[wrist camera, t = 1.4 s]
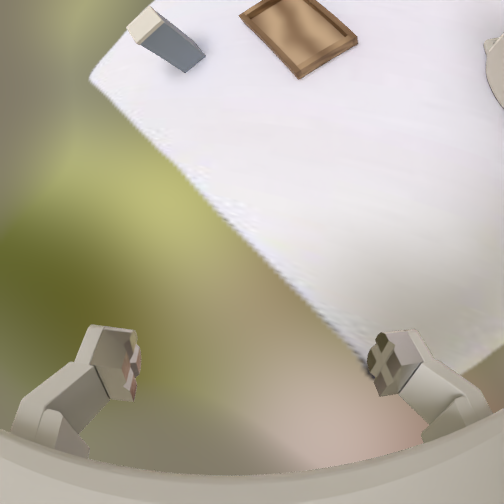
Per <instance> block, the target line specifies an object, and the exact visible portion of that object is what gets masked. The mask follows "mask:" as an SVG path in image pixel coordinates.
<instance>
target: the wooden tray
mask: <svg viewBox="0 0 504 504" xmlns="http://www.w3.org/2000/svg"><path fill="white" fill-rule="evenodd" d="M239 17H240V18H241V20H242V21H243V22H244V23H245V24H246V25H247V26H248V27H249V28H250V29H251V30H252V31H253V32H254V33H255V34H256V35H257V36H258V37H259V38H260V39H261V40H262V41H263V42H264V43H265V44H266V45H267V46H268V47H269V48H270V49H271V50H272V51H273V52H274V53H275V54H276V55H277V56H278V57H279V59H280V60H281V61H282V62H283V63H284V64H285V65H286V66H287V67H288V68H289V69H290V71H291V72H292V73H293V74H294V75H295V76H296V77H297V79H298V80H299V79H301V78H302V77H304V76H305V75H307V74H308V73H310V72H312V71H313V70H315V69H316V68H318V67H319V66H321V65H323V64H324V63H326V62H328V61H329V60H331V59H333V58H334V57H336V56H338V55H339V54H341V53H343V52H344V51H346V50H348V49H350V48H351V47H353V46H355V45H357V44H358V40H357V36H356V35H355V34H354V33H353V32H352V31H351V30H350V29H349V28H348V27H347V26H345V25H344V24H343V23H342V22H341V21H340V20H339V19H338V18H337V17H335V16H334V15H333V14H332V13H331V12H330V11H328V10H327V9H326V8H325V7H324V6H322V5H321V4H320V3H319V2H317V1H316V0H262V1H260V2H259V3H257V4H256V5H254V6H253V7H251V8H249V9H248V10H246V11H245V12H243V13H242V14H240V15H239Z"/></svg>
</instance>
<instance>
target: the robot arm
mask: <svg viewBox="0 0 504 504" xmlns="http://www.w3.org/2000/svg"><path fill="white" fill-rule="evenodd" d="M493 44H494V45H493ZM484 49H485V52H486V55H487V60H486V75H487V79H488V82H489V85H490V87H491V89H492V92H493V93H494V95H495V97H496V98H497V100H498V101H499V103H500V104H501V105H502V107H503V108H504V33H503V34H502V35H501V36H500V38H494V39H487V40H486V41H485V42H484ZM375 340H376V343H377V344H376V345H374V346H373V347H372V348H371V349H370V351H369V353H368V358H367V364H368V369H369V371H370V373H371V374H372V375H374V376H375V381H374V384H375V386H376V389H377V391H378V394H379V396H387V395H393V394H398V395H399V396H400V397H401V398H402V399H403V400H404V401H405V402H406V403H407V404H409V406H411V407H412V408H413V409H414V410H415V411H416V412H417V413H418V414H419V415H420V416H421V417H422V418H423V419H424V420H425V421H426V422H427V423H428V424H429V426H428V427H427V428H426V429H425V430H424V431H423V432H422V434H421V437H422V439H423V442H424V443H423V444H420V445H417V446H414V447H411V448H408V449H405V450H401V451H398V452H395V453H391V454H387V455H384V456H380V457H376V458H372V459H368V460H363V461H359V462H354V463H350V464H344V465H339V466H334V467H328V468H322V469H315V470H308V471H299V472H290V473H280V474H265V475H244V476H243V475H239V476H217V475H192V474H178V473H167V472H159V471H150V470H143V469H137V468H130V467H125V466H119V465H114V464H109V463H104V462H99V461H95V460H91V459H88V456H89V450H90V448H89V447H88V445H87V444H86V443H85V442H84V441H83V439H82V438H81V437H80V436H79V435H78V434H79V433H80V432H81V431H82V430H83V429H84V428H85V427H86V425H88V424H89V422H90V421H91V420H92V419H93V418H94V417H95V416H96V415H97V414H98V413H99V412H100V410H101V409H102V408H103V407H104V406H105V405H106V404H107V403H108V402H109V401H110V399H115V400H122V401H131V402H134V399H135V394H136V389H137V384H136V380H135V378H136V377H137V376H138V375H139V373H140V368H141V352H140V347H139V346H138V345H136V341H137V335H136V331H135V330H129V329H122V328H114V327H107V326H99V325H91V326H90V327H89V328H88V330H87V332H86V335H85V337H84V339H83V342H82V344H81V347H80V349H79V351H78V354H77V357H76V360H75V362H69V363H68V364H67V365H65V366H64V367H63V368H62V369H60V370H59V371H58V372H56V373H55V374H54V375H52V376H51V377H50V378H48V380H46V381H45V382H43V383H42V384H41V385H39V386H38V387H37V388H36V389H34V390H33V391H32V392H30V393H29V394H28V395H27V396H25V397H24V398H23V399H22V400H21V403H20V405H19V408H18V411H17V413H16V416H15V419H14V422H13V425H12V428H11V431H10V433H9V432H7V431H4V430H2V429H0V504H504V408H503V409H501V410H499V411H498V412H496V413H494V414H493V413H492V411H491V409H490V407H489V405H488V403H487V401H486V400H485V398H484V396H483V394H482V392H481V391H480V389H479V388H477V387H476V386H474V385H473V384H472V383H470V382H469V381H468V380H466V379H465V378H463V377H462V376H460V375H459V374H458V373H456V372H455V371H453V370H452V369H450V368H449V367H448V366H446V365H445V364H443V363H442V362H440V361H439V360H435V359H434V357H433V356H432V354H431V352H430V351H429V349H428V347H427V345H426V344H425V342H424V340H423V339H422V337H421V335H420V334H419V332H418V331H417V330H416V329H410V330H399V331H389V332H381V333H380V334H378V336H377V338H376V339H375Z"/></svg>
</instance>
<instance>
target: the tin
mask: <svg viewBox="0 0 504 504" xmlns="http://www.w3.org/2000/svg"><path fill="white" fill-rule="evenodd" d="M126 28H127V30H128V31H129V33H130V34H131V36H132V38H133V39H134V41H135V42H136V43H137V44H138V45H142V46H143V47H145V48H147V49H148V50H150V51H152V52H153V53H155V54H156V55H158V56H160V57H161V58H163V59H164V60H166V61H168V62H169V63H171V64H172V65H174V66H175V67H177V68H178V69H180V70H181V71H183V72H184V73H186V72H187V71H188V70H189V69H191V68H192V67H193V66H194V65H195V64H197V63H198V62H199V61H200V60H201V59H203V58H204V57H205V54H204V53H203V52H202V51H201V50H200V48H199V47H198V46H197V45H196V44H195V42H194V41H193V40H192V39H190V38H189V37H188V36H187V35H185V34H184V33H183V32H182V31H181V30H179V29H178V28H177V27H176V26H174V25H173V24H172V23H170V22H169V21H168V20H167V19H165V18H164V17H163V16H161V15H160V14H159V13H157V12H156V11H155V10H154V9H153V8H152V7H151V6H148V7H147V8H146V9H145V10H144V11H143V12H142V13H141V14H140V15H138V16H137V17H136V18H135V19H134V20H133V21H132V22H131V23H130V24H129V25H128V26H127V27H126Z"/></svg>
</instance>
